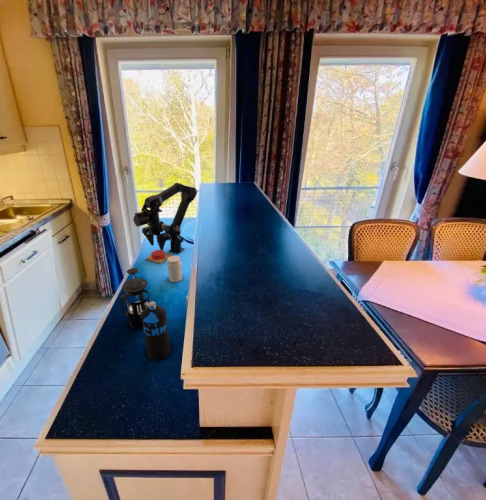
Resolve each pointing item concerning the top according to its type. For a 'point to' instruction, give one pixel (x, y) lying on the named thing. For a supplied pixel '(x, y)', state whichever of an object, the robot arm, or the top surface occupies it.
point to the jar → (174, 268)
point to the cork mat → (159, 259)
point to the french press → (135, 289)
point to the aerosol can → (156, 331)
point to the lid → (158, 254)
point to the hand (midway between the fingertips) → (157, 247)
